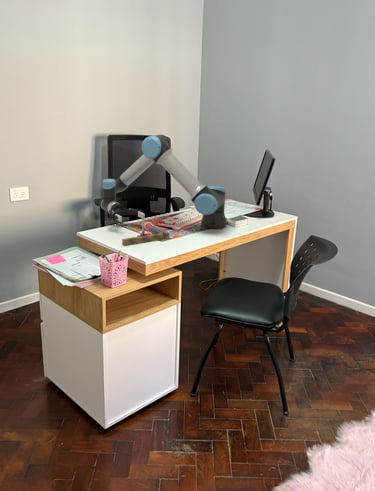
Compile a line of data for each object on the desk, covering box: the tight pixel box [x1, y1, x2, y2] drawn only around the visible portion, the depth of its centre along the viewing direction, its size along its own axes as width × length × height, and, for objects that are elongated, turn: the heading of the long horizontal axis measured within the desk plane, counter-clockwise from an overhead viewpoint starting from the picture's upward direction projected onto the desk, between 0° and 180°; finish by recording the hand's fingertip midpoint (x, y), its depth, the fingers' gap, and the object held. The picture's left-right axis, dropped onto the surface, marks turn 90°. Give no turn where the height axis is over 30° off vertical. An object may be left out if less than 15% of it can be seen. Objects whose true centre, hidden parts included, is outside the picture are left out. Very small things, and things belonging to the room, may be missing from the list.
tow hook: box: [136, 215, 152, 237], centre depth 229 cm, size 8×13×9 cm
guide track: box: [121, 225, 170, 247], centre depth 229 cm, size 26×16×3 cm, turn 123°
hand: (132, 217), depth 236 cm, fingers open, 13 cm apart
